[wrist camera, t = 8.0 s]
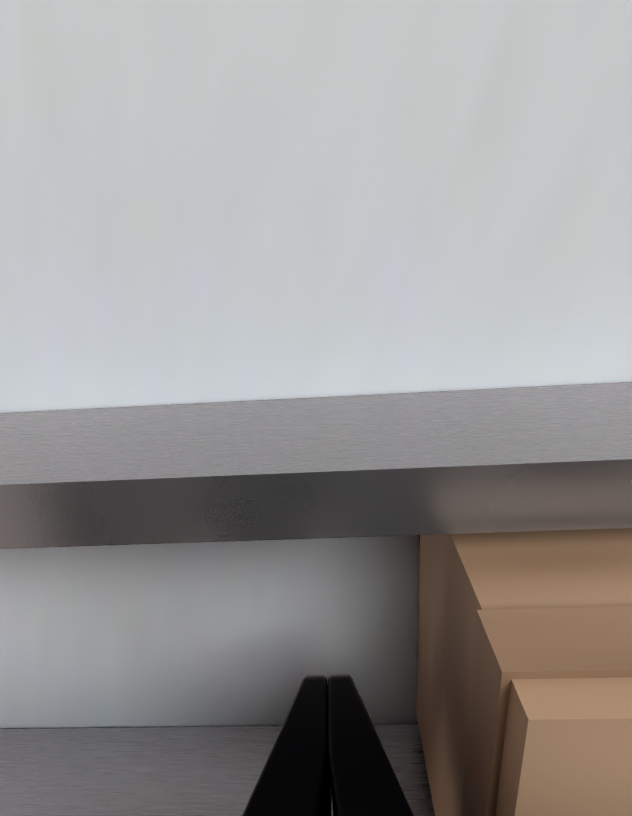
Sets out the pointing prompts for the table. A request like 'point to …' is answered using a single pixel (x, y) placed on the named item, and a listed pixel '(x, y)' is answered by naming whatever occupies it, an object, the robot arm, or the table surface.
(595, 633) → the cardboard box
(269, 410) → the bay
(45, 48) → the table surface
